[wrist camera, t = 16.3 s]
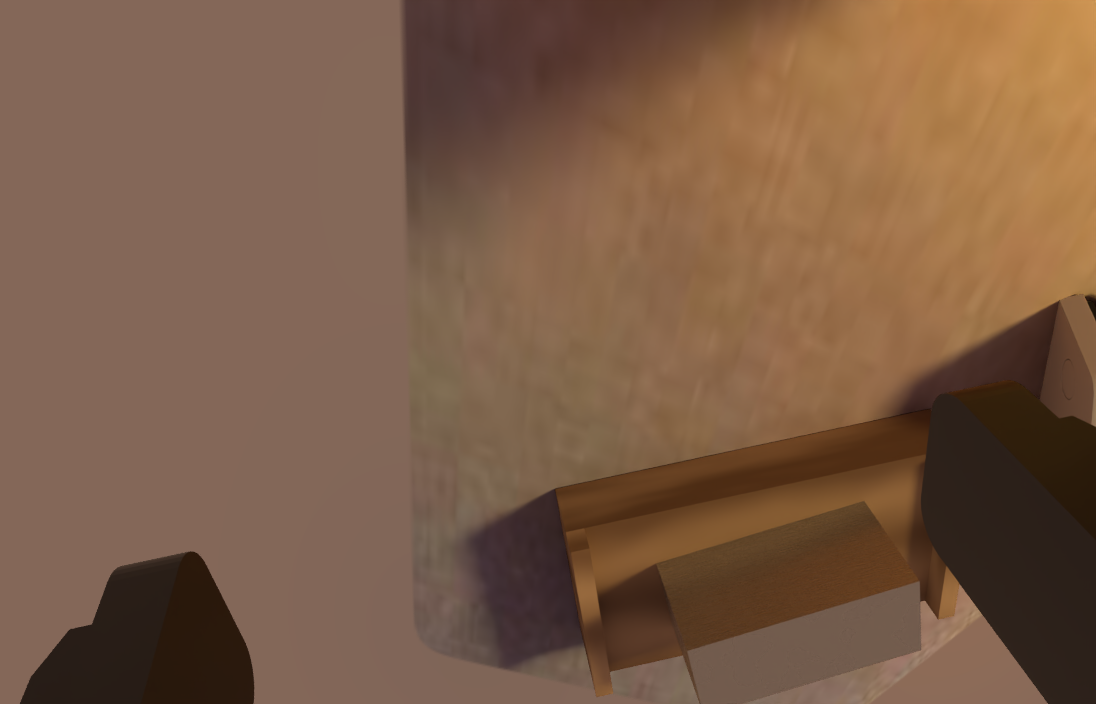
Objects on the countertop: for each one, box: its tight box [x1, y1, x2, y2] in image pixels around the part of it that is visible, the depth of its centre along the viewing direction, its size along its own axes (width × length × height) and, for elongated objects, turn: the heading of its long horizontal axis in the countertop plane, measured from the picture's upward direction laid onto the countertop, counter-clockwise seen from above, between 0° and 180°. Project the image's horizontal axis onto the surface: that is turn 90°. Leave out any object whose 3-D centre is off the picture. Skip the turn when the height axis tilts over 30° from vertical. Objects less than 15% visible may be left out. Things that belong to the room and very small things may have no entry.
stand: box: [555, 409, 959, 697], centre depth 51 cm, size 12×22×5 cm, turn 99°
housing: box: [656, 501, 921, 704], centre depth 47 cm, size 6×12×6 cm, turn 105°
